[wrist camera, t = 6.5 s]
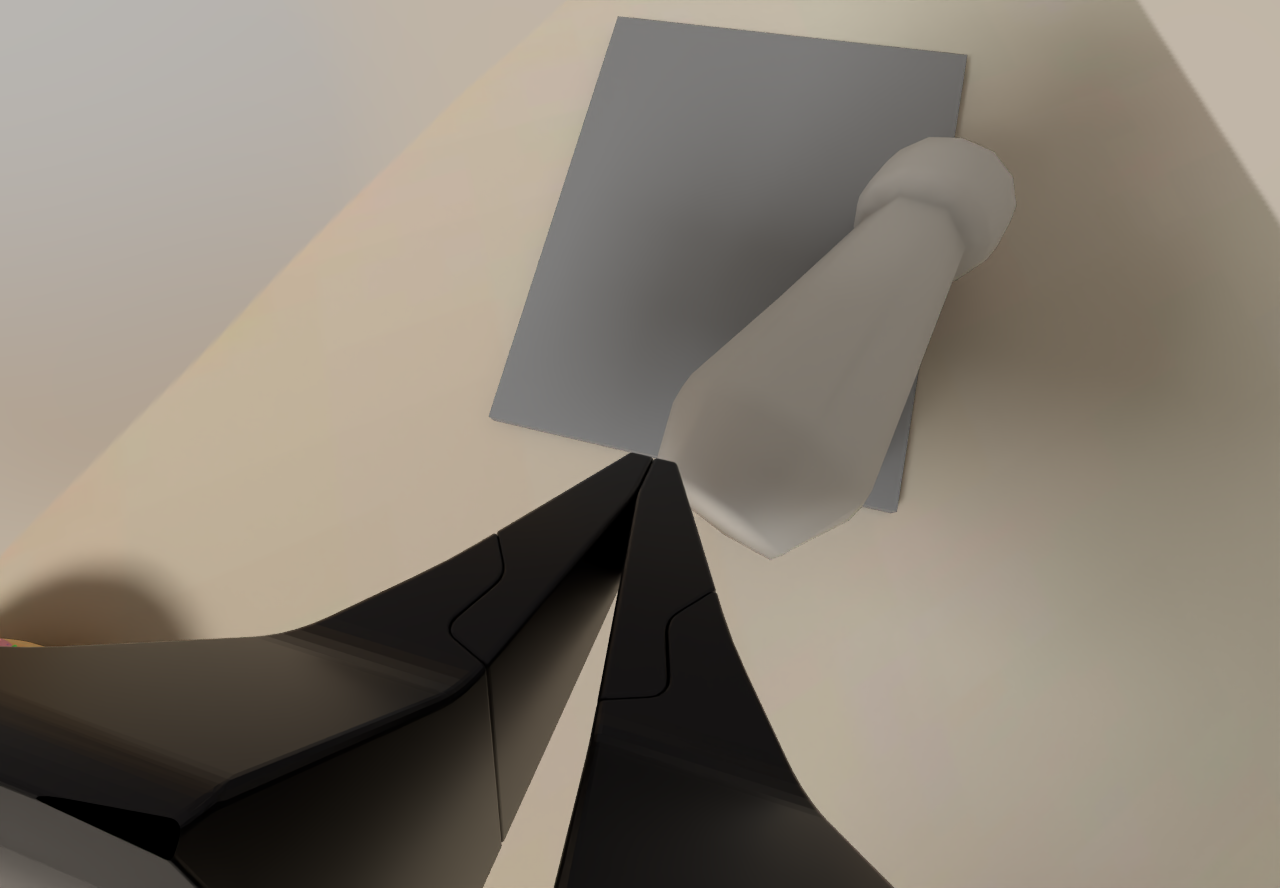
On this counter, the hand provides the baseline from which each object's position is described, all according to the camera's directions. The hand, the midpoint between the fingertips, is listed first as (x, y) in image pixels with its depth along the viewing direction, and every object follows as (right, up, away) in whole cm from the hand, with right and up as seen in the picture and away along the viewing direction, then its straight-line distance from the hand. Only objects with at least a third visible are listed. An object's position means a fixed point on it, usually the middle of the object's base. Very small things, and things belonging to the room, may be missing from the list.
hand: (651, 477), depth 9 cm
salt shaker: (+2, -1, +4) cm, 5 cm away
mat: (+3, +8, +10) cm, 14 cm away
